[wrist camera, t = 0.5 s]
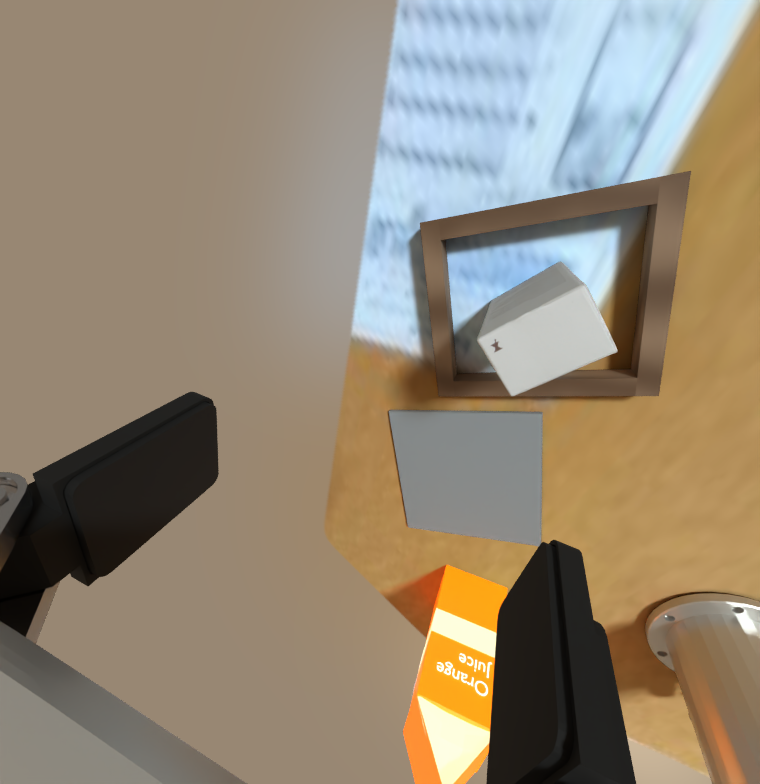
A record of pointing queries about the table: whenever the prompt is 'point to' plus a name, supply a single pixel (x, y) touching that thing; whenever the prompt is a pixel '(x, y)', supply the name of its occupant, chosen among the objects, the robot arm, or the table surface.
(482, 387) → the brown square frame
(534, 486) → the rubber mat
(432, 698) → the orange juice
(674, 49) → the table surface
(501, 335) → the skincare box
